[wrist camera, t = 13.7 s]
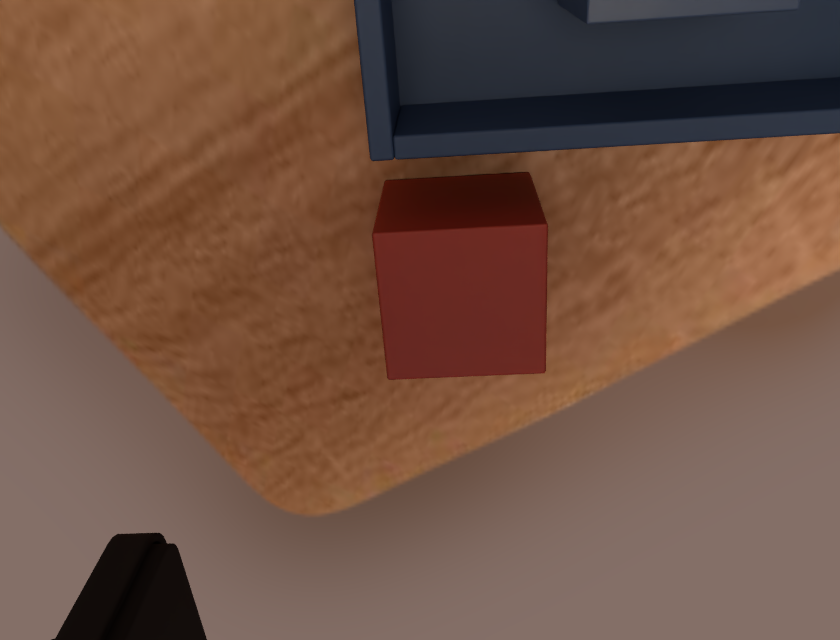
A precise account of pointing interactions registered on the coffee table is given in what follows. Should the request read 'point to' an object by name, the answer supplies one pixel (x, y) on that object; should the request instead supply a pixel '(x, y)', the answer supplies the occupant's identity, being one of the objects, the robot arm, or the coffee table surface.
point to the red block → (462, 276)
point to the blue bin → (588, 77)
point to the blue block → (668, 9)
